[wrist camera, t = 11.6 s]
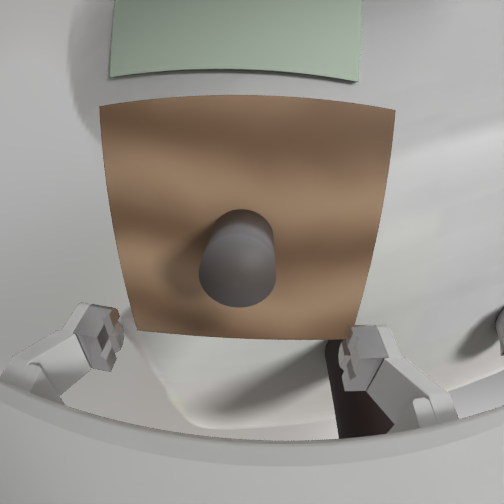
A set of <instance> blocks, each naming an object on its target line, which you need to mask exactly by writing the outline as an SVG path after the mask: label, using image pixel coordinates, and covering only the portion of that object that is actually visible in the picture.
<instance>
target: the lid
mask: <svg viewBox="0 0 504 504" xmlns="http://www.w3.org/2000/svg"><path fill="white" fill-rule="evenodd" d="M99 107H100V124H101V137H102V149H103V159H104V167H105V176H106V184H107V191H108V197H109V205H110V211H111V216H112V223H113V228H114V233H115V239H116V244H117V249H118V254H119V259H120V264H121V268H122V273H123V277H124V281H125V286H126V289H127V294H128V298H129V302H130V305H131V309H132V313H133V317H134V320H135V324H136V327H137V330H140V331H149V332H158V333H169V334H180V335H193V336H207V337H223V338H244V339H278V340H332V339H346V338H345V334H344V333H345V330H346V328H347V326H348V325H354V324H355V321H356V317H357V314H358V310H359V307H360V303H361V299H362V296H363V292H364V288H365V284H366V280H367V276H368V272H369V268H370V264H371V260H372V256H373V251H374V247H375V242H376V237H377V233H378V228H379V223H380V218H381V212H382V207H383V201H384V196H385V190H386V183H387V177H388V170H389V163H390V156H391V148H392V140H393V131H394V121H395V110H392V109H386V108H381V107H375V106H369V105H362V104H356V103H348V102H340V101H332V100H323V99H312V98H300V97H285V96H262V95H211V96H188V97H173V98H161V99H150V100H141V101H133V102H125V103H118V104H111V105H105V106H99Z"/></svg>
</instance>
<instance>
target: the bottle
mask: <svg viewBox="0 0 504 504" xmlns="http://www.w3.org/2000/svg"><path fill="white" fill-rule="evenodd" d="M343 340H344V339H332V340H330V341H329V343H328V344H327V346H326V349H325V358H326V363H327V369H328V374H329V380H330V385H331V391H332V397H333V403H334V409H335V415H336V422H337V428H338V435H339V439H344V438H355V437H365V436H374V435H381V434H387V433H388V432H389V430H390V429H391V428H392V427H393V426H394V423H393V422H392V421H391V420H390V418H389V417H388V416H387V415H386V414H385V413H384V411H383V410H382V409H381V408H380V407H379V406H378V405H377V403H376V402H375V401H374V400H373V399H372V398H371V396H370V395H369V394H368V393H367V391H345V390H344V385H343V380H342V375H343V372H344V370H343V369H342V368H340V365H339V357H338V355H339V348H340V344H341V342H342V341H343Z"/></svg>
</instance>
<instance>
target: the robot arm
mask: <svg viewBox="0 0 504 504" xmlns="http://www.w3.org/2000/svg"><path fill="white" fill-rule="evenodd" d="M119 317H120V316H119V313H118V310H117V309H116V308H112V307H106V306H100V305H94V304H87V303H82V302H81V303H79V304H78V305H77V307H76V308H75V310H74V311H73V313H72V314H71V316H70V317H69V319H68V320H67V322H66V324H65V325H64V327H63V328H62V330H61V331H60V330H57V331H55V332H53V333H52V334H50V335H49V336H47V337H45V338H43V339H41V340H40V341H38V342H36V343H34V344H33V345H31V346H29V347H28V348H26V349H24V350H22V351H21V352H19V353H17V354H16V355H14V356H13V357H12V358H11V360H10V362H9V363H8V365H7V366H6V368H5V370H4V371H3V373H2V375H1V376H0V504H504V405H503V406H501V407H498V408H495V409H492V410H489V411H485V412H482V413H479V414H476V415H472V416H469V417H465V418H462V419H459V418H458V415H457V412H456V410H455V408H454V405H453V402H452V400H451V397H450V395H449V392H447V391H446V390H445V389H444V388H443V387H441V386H440V385H439V384H438V383H436V382H435V381H434V380H433V379H431V378H430V377H429V376H428V375H427V374H425V373H424V372H423V371H422V370H420V369H419V368H418V367H417V366H415V365H414V364H413V363H412V362H410V361H409V360H408V359H407V358H405V357H401V354H400V352H399V349H398V347H397V344H396V342H395V340H394V337H393V335H392V332H391V330H390V328H389V326H388V325H348V326H347V328H346V330H345V333H344V334H345V338H346V339H344V340H343V341H342V342H341V344H340V348H339V355H338V357H339V365H340V368H342V369H343V370H344V372H343V375H342V380H343V385H344V390H345V391H367V393H368V394H369V395H370V396H371V398H372V399H373V400H374V401H375V402H376V403H377V405H378V406H379V407H380V408H381V409H382V410H383V411H384V413H385V414H386V415H387V416H388V417H389V418H390V420H391V421H392V422H393V423H394V426H393V427H392V428H391V429H390V430H389V432H388V433H387V434H381V435H374V436H365V437H355V438H344V439H329V440H311V441H309V440H308V441H307V440H305V441H270V440H268V441H267V440H246V439H245V440H244V439H231V438H218V437H209V436H200V435H192V434H185V433H178V432H171V431H165V430H160V429H154V428H149V427H144V426H139V425H134V424H130V423H126V422H121V421H117V420H113V419H109V418H105V417H101V416H98V415H94V414H91V413H87V412H84V411H81V410H78V409H74V408H71V407H68V406H66V405H65V404H64V402H63V401H62V399H61V398H60V397H59V396H60V395H61V394H63V393H64V392H65V391H66V390H67V389H68V388H70V387H71V386H72V385H73V384H74V383H76V382H77V381H78V380H79V379H80V378H82V377H83V376H84V375H85V374H86V373H87V372H89V371H90V370H91V368H93V369H98V370H103V371H109V372H111V370H112V368H113V366H114V363H115V361H116V356H115V353H116V352H118V351H119V350H121V347H122V345H123V340H124V330H123V326H122V325H121V324H120V323H119V322H118V319H119Z"/></svg>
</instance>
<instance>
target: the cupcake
mask: <svg viewBox="0 0 504 504" xmlns="http://www.w3.org/2000/svg"><path fill="white" fill-rule="evenodd" d="M495 326H496V331H497V334H498V337H499V341H500V347H501V356H503V355H504V308H503V310H502V311H501V313H500V314H499V316H498V318H497V320H496V324H495Z"/></svg>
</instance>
